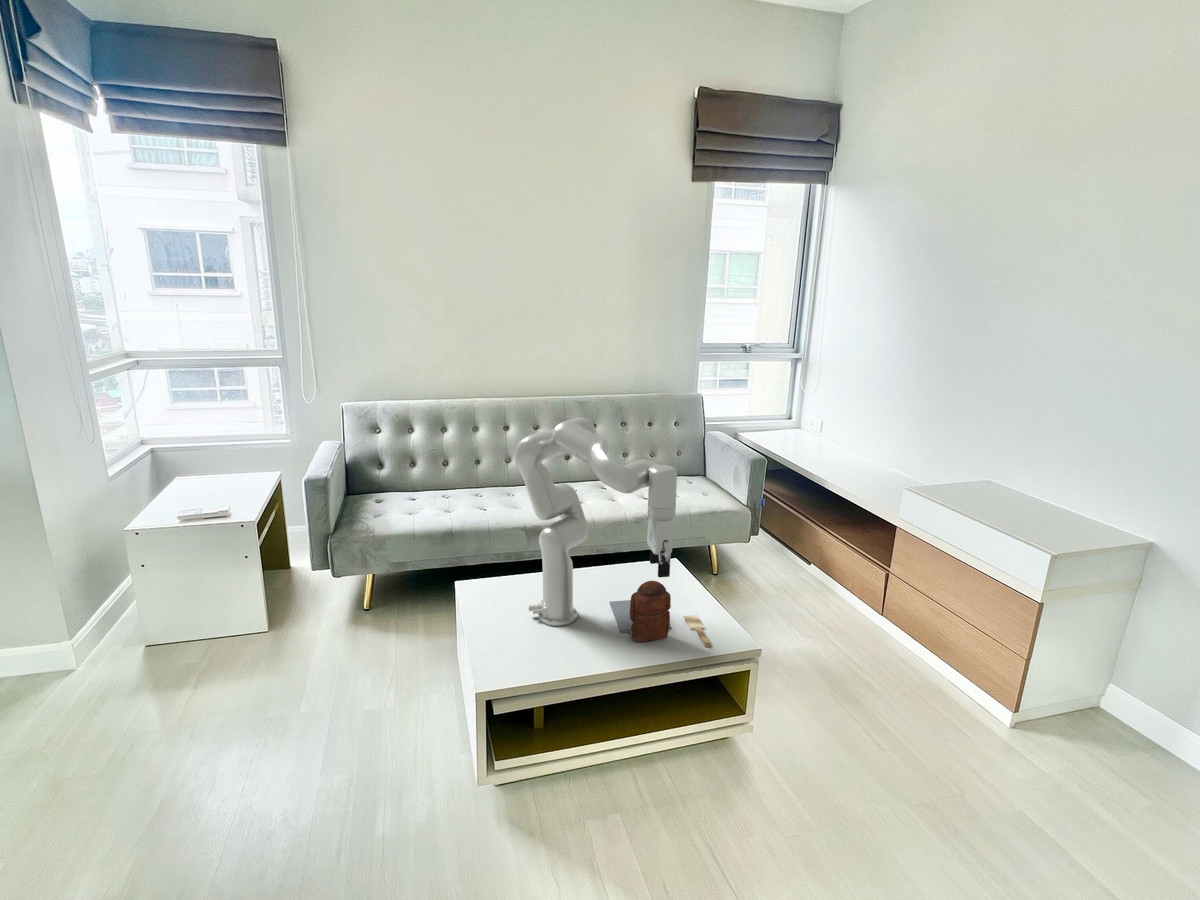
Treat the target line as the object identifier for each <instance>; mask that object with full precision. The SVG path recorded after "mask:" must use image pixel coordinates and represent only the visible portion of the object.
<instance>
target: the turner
mask: <svg viewBox="0 0 1200 900" xmlns="http://www.w3.org/2000/svg"><path fill="white" fill-rule="evenodd" d="M682 617H683V620H684V621H685V623H686V625H687V626H688V628H689V630H690V631H695V632H696V634H697V636H698V637H699V639H700V641H701V643H702V644H703V646H704V647H705V648H710V646H711V645H712V643H711V642H710V640H709V638H708V637H707V635H706V634H705V632H704V631H703V630H705V626H704V624H703V623H702V622H701V620H700V619H699V617H698V616H697V614H693V615H692V614H690V615H689V614H688V615H683V616H682ZM711 647H712V646H711Z"/></svg>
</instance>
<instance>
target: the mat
mask: <svg viewBox="0 0 1200 900" xmlns="http://www.w3.org/2000/svg"><path fill="white" fill-rule="evenodd" d="M630 602H631V599H628V600H614V601H613V600H612V601H609V605H610V608H611V611H612V614H613V616H614V619H615V623H616V624H617V627H618V630H619V633H631V627H632V623H633V621H631V619H630ZM669 630H672V625H670V626H669Z"/></svg>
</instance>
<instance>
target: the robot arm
mask: <svg viewBox="0 0 1200 900" xmlns="http://www.w3.org/2000/svg"><path fill="white" fill-rule="evenodd" d="M608 450H609V443H608V441H607V440H606V439H605V438H604V437H601V436H600V435H599V434H598V435H597V430H596V427H595V425H594V423H593V422H592V421H591V420H590V419H588V418H585V417H577V418H571V419H568V420H565V421H564V420H563V421H562V422H560V423H558V424H557V425H556V426H555V427H554V428H553V429H549V430H544V431H540V432H535V433H532V434H530V435H528V436H526V437H524V438H522V439H521V440H520V441H519V442H518V444H517V445H516V448H515V451H514V459H515V460H514V461H515V464H516V467H517V468H518V471H519V473H520V475H521V477H522V479H523V481H524V484H525V489H526V491H527V493H528V497H529V501H530V504H531V506H532V509H533V511H534V514H535V516H536V517H537V518H538V519H539V520H541V521H549V520H553V519H554V518H557V517H559V520H557V521H553V522H552V523H551V524H550V523H549V524H548V525H547V526H545V527H544V528H543V529H542V531H541V532H540V534H539V536H538V542H539V547H540V553H541V559H542V560H541V561H542V564H541V565H542V600H541V603H538V604H529V605H528V612H532V615H537V617H538V620H539V621H540V622H541V623H543V624H546V625H548V626H554V627H556V626H557V627H561V626H562V627H563V626H567V625H569V624H571V623H574V622H575V621H576V620H577V618H578V614H579V613H578V610H577V608H575V607H573V606H574V603H573V602H574V601H573V600H574V594H573V593H574V591H573V590H574V586H573V585H574V566H573V565H574V564H573V560H572V558H571V557H570V554H569V551H570V550H571V549H572V548H574V547H576V546H578V545H580V544H582V543H583V542H585V540H586V539H587V537H588V534H589V527H588V523H587V520H586V516H585V513H584V511H583V510H584V509H583V508H582V503H581V501H580V497H579V495H578V494H577V492H576V490H575V489H574V488H573V487H572V486H571V485H569V484H567V483H558V484H555V482H554V479H553V477H552V474H551V472H550V471H549V469H548V468H547V467H546V465H544V464H543V463H542V462H543V461H544V460H548V459H552V458H554V457H555V458H556V457H558V456H561V455H562V456H563V455H565V454H566V453H568V454H569V455H572V456H574V457H576V458H578V459H579V460H581V461H583V462H584V463H586V464H587V465H590V467H591V470H592V472H593V473H594V475H595V477H597V479H598V480H599V481H600V482H601V483H603V484H605V485H606V486H608V487H610V488H611V489H613V490H615V491H617V492H619V493H623V494H633V493H635V492H638V491H639V490H641V489H644V488H648V490H647V491H648V494H647V495H648V498H647V499H648V500H647V517H648V522H647V524H648V525H647V533H646V535H647V537H646V544H647V546H648V547H649V549H650V550H649V564H650V565H651V564H652V565H653V564H657V577H658V578H669V577H670V574H671V573H670V572H671V558H672V557H671V556H672V554H671V553H673V531H674V530H673V528H674V527H673V519H675V518H676V508H677V506H676V505H677V490H678V489H677V485H678V483H677V482H678V472H677V471H678V470H677V469H676V468H675V467H674V466H671V465H668V464H658V463H656V462H654V461H651V460H649V459H639V460H636V461H634V462H630V463H628V464H626V465H623V464H622V463H619V462H618V461H616V460H614V459H612V458H610V457H609V456H608V455H607V454H608Z"/></svg>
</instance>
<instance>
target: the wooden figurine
mask: <svg viewBox="0 0 1200 900" xmlns="http://www.w3.org/2000/svg"><path fill="white" fill-rule="evenodd" d="M630 600H631V602H630V619H631V621H633V623H632V627H631V632H630V638H631V639H632V640H633V641H634V642H637V643H647V642H651V641H657V640H662V639H666V638H667V637H668V635H669V631H670V629H669V626H671V617H670V616H671V615H670V609H671V608H672V604H671V602H672V601H671V600H672V599H671V594H670V592H668V591H667V589H666V587H665V586H664V584H662V583H661V582H659V581H657V580H648V581H645V582H643V583H642V584H640V586H638V588H637V589H636V592H633V593H632V594H631V597H630Z"/></svg>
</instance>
